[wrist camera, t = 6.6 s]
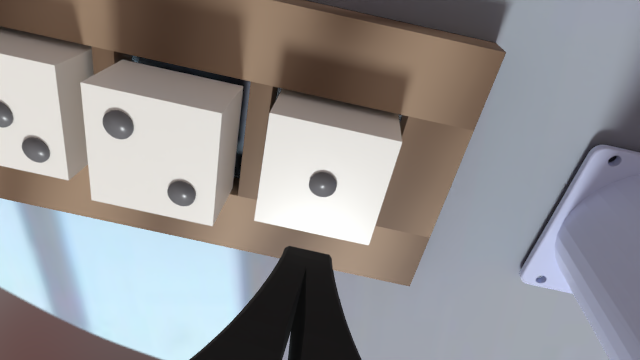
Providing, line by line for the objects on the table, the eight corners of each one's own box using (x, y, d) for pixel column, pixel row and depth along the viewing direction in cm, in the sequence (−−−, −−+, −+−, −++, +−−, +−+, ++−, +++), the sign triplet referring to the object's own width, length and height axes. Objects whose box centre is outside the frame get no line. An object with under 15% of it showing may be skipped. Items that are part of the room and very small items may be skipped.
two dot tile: (243, 86, 18) (221, 114, 15) (232, 188, 20) (211, 227, 18) (122, 59, 18) (78, 83, 15) (126, 165, 20) (90, 201, 18)
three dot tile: (98, 45, 18) (53, 66, 16) (105, 149, 21) (67, 181, 18) (-18, 20, 18) (-84, 36, 16) (3, 127, 21) (-51, 156, 18)
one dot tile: (397, 112, 19) (402, 143, 16) (369, 206, 21) (368, 246, 19) (283, 86, 19) (268, 113, 16) (268, 184, 21) (253, 222, 18)
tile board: (496, 42, 17) (505, 52, 16) (407, 266, 23) (409, 286, 22) (-104, -91, 17) (-143, -93, 16) (-35, 170, 23) (-59, 185, 22)
